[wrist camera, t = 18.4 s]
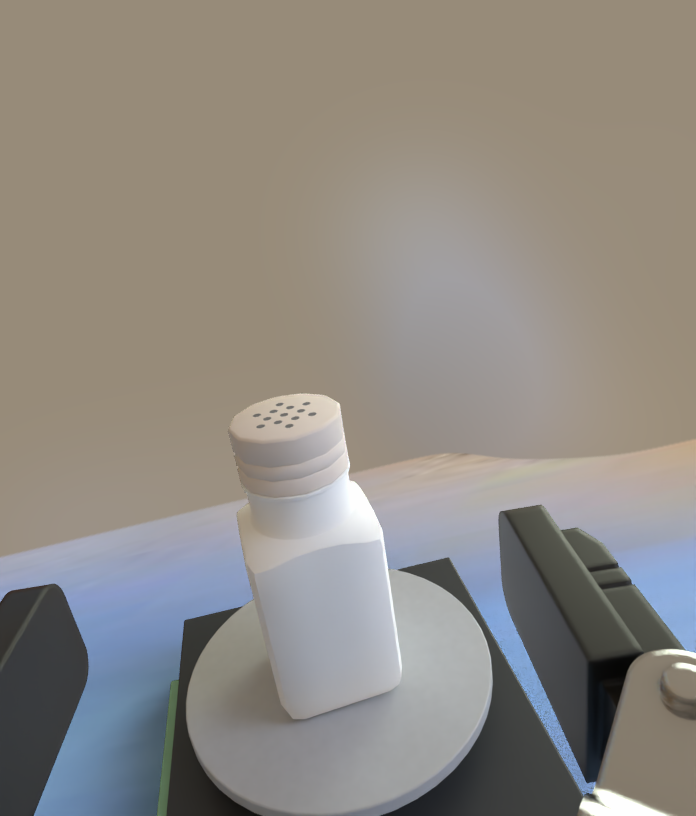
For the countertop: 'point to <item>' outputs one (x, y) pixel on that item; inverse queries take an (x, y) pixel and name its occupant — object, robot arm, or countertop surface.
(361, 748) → the scale
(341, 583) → the salt shaker
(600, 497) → the countertop surface
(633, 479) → the countertop surface
